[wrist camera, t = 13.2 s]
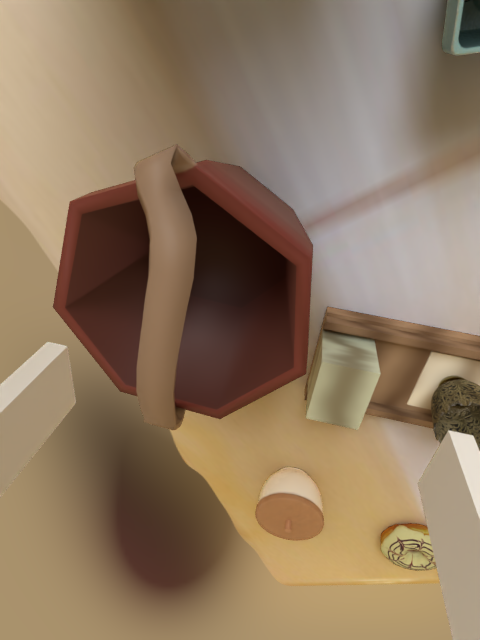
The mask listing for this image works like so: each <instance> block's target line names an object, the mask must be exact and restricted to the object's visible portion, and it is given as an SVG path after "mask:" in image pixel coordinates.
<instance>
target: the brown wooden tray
mask: <svg viewBox="0 0 480 640" xmlns="http://www.w3.org/2000/svg"><path fill="white" fill-rule="evenodd" d="M453 375H455V376H460V377H462V378H464V379H466V380H468V381H471V382H474V383H476V384H478V385H479V386H480V336H476V335H471V334H466V333H461V332H456V331H451V330H445V329H440V328H435V327H430V326H425V325H420V324H415V323H409V322H404V321H399V320H394V319H389V318H384V317H378V316H373V315H368V314H363V313H358V312H353V311H348V310H342V309H337V308H332V307H327V310H326V313H325V317H324V321H323V325H322V328H321V332H320V336H319V339H318V343H317V347H316V350H315V354H314V358H313V361H312V365H311V369H310V372H309V376H308V380H307V383H306V387H305V400H307V406H306V418H307V419H311V420H315V421H320V422H324V423H329V424H333V425H338V426H342V427H346V428H351V429H355V430H358V429H359V427H360V424H361V422H362V419H363V417H364V414H365V413H366V414H370V415H375V416H379V417H384V418H388V419H393V420H397V421H402V422H406V423H411V424H415V425H420V426H425V427H429V428H434V427H433V420H432V413H431V400H432V396H433V394H434V392H435V391H436V389H437V388H438V385H439V383H440V381H441V380H442V379H444V378H445V377H448V376H453Z"/></svg>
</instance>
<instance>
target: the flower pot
mask: <svg viewBox="0 0 480 640" xmlns="http://www.w3.org/2000/svg"><path fill="white" fill-rule="evenodd" d="M442 49H443V51H444V52H446V53H448V54H452V55H456V56H460V55H468V54H474V53H480V0H467V1H464V0H448V1H447V9H446V17H445V24H444V32H443V38H442Z"/></svg>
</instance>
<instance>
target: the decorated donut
mask: <svg viewBox="0 0 480 640" xmlns="http://www.w3.org/2000/svg"><path fill="white" fill-rule="evenodd" d="M381 551H382V553H383V554H384V555H385V556H386V558H387V559H389V560H390V561H391V562H392V563H393V564H395V565H398V566H401V567H403V568H405V569H410V570H418V571H422V570H432V569H436V568H437V567H436V562H435V558H434V554H433V549H432V545H431V540H430V536H429V531H428V527H427V526H424V525H420V524H411V523H410V524H401V525H399V524H395V525H393V526H391V527H388V528H387V529H386V530H385V531H383V533H382V534H381Z"/></svg>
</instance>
